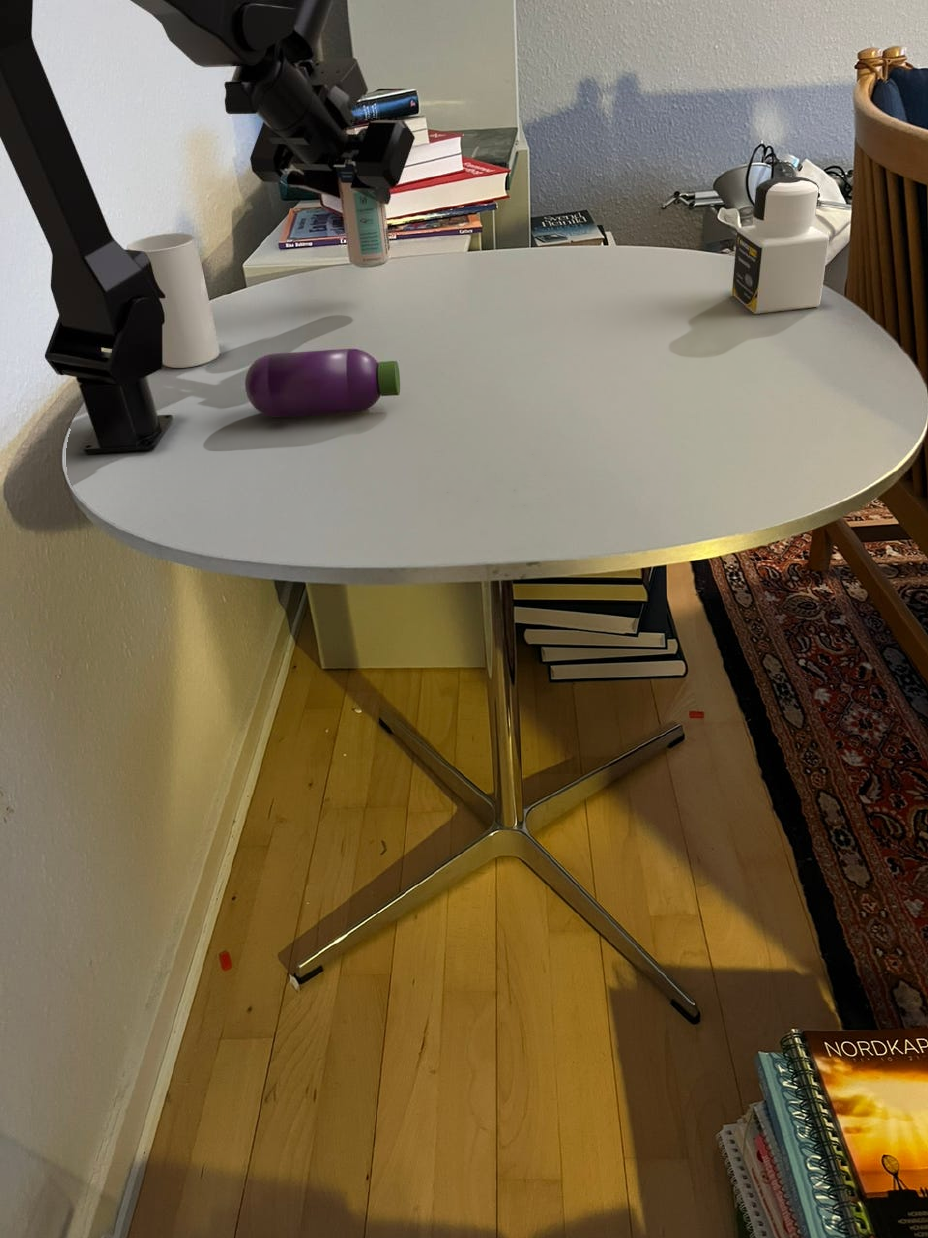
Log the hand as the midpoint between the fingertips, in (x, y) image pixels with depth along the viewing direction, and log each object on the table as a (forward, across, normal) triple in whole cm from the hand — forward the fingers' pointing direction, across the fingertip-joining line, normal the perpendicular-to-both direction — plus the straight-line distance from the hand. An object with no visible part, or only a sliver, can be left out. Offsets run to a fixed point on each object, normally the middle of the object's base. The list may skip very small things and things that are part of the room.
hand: (370, 199), depth 106 cm
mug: (-7, +10, +23) cm, 26 cm away
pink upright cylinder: (+4, 0, +6) cm, 7 cm away
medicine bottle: (+17, -42, -1) cm, 46 cm away
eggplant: (-12, -14, +29) cm, 34 cm away
